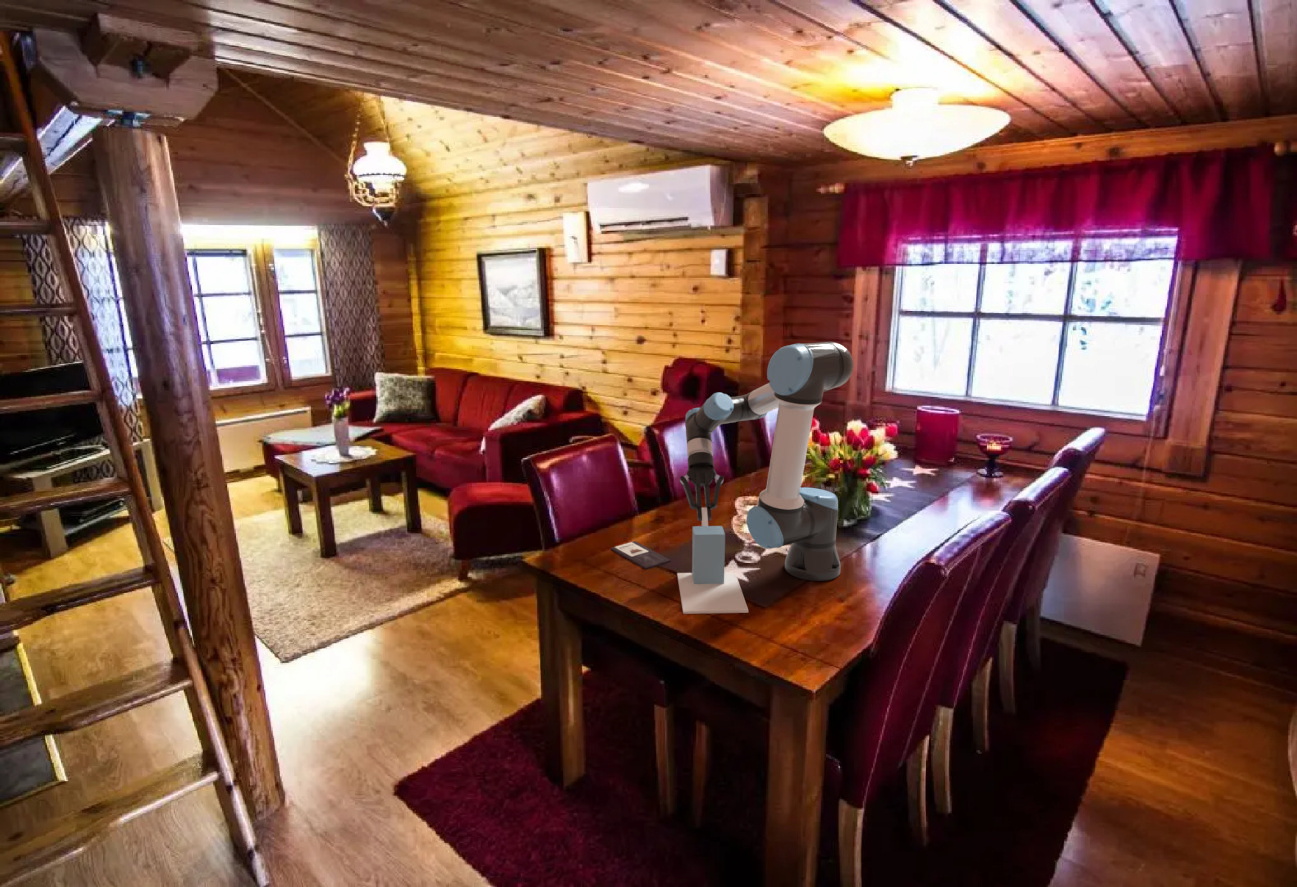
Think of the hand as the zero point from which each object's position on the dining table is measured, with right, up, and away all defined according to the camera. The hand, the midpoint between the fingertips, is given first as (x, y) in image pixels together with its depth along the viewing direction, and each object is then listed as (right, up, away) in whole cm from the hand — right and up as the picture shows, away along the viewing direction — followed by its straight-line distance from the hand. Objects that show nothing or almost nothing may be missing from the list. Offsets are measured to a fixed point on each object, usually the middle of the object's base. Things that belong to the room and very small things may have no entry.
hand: (705, 530), depth 188 cm
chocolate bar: (-18, -10, +13) cm, 24 cm away
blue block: (0, -12, -4) cm, 13 cm away
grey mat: (0, -15, -11) cm, 18 cm away
